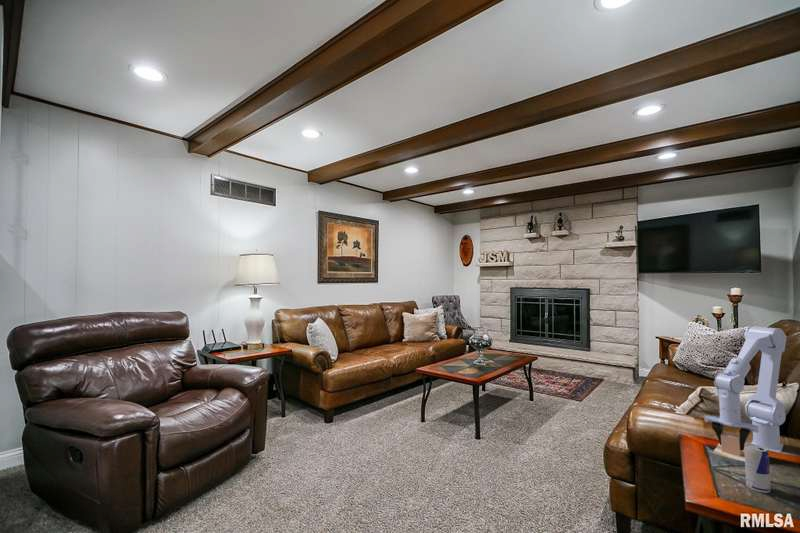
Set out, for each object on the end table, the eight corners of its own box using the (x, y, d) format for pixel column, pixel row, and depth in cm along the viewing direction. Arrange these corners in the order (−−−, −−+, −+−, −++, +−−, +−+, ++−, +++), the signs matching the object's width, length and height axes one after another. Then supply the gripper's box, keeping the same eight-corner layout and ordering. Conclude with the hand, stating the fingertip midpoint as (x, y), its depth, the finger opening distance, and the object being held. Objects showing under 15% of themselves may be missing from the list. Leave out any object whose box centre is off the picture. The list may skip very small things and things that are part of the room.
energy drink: (775, 494, 110) (773, 452, 110) (754, 492, 111) (752, 450, 111) (762, 484, 115) (760, 444, 115) (741, 483, 116) (739, 443, 116)
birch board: (719, 443, 144) (719, 442, 144) (751, 451, 137) (751, 450, 137) (712, 454, 135) (711, 452, 135) (745, 462, 128) (745, 461, 128)
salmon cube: (724, 447, 139) (723, 430, 140) (742, 451, 136) (741, 434, 136) (721, 451, 136) (720, 434, 136) (740, 456, 132) (739, 438, 133)
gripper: (701, 406, 139) (703, 443, 139) (755, 416, 128) (757, 457, 128) (706, 402, 144) (708, 438, 144) (758, 411, 133) (760, 450, 133)
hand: (731, 446), depth 136 cm, fingers closed on salmon cube, 5 cm apart
